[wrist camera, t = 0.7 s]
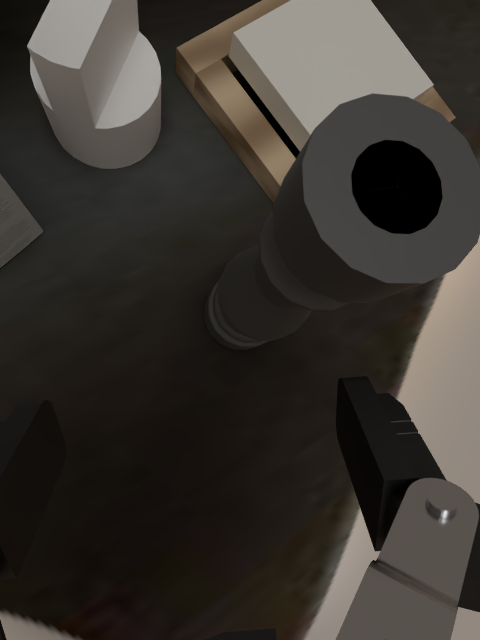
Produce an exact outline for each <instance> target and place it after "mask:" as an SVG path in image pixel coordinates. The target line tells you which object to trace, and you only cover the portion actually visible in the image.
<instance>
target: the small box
mask: <svg viewBox="0 0 480 640" xmlns="http://www.w3.org/2000/svg"><path fill="white" fill-rule="evenodd" d="M42 233H43V229H42V228H41V227H40V225H39V224H38V223H37V221H36V220H35V219H34V217H33V216H32V215H31V214H30V212H29V211H28V210H27V208H26V207H25V206H24V204H23V203H22V202H21V200H20V199H19V198H18V196H17V195H16V194H15V192H14V191H13V190H12V189H11V187H10V186H9V185H8V183H7V182H6V181H5V179H4V178H3V177H2V175H1V174H0V268H1V267H2V266H4V265H5V264H6V263H7V262H8V261H10V260H11V259H12V258H13V257H14V256H16V255H17V254H18V253H19V252H20V251H22V250H23V249H24V248H25V247H26V246H28V245H29V244H30V243H31V242H32V241H33V240H35V239H36V238H37V237H38V236H39V235H40V234H42Z"/></svg>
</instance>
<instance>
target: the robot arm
mask: <svg viewBox="0 0 480 640" xmlns="http://www.w3.org/2000/svg"><path fill="white" fill-rule="evenodd" d="M336 430H337V437H338V441H339V445H340V448H341V451H342V454H343V457H344V460H345V463H346V466H347V469H348V472H349V475H350V478H351V481H352V484H353V487H354V490H355V493H356V496H357V499H358V502H359V505H360V508H361V511H362V514H363V517H364V520H365V523H366V526H367V529H368V532H369V535H370V538H371V541H372V544H373V547H374V550H375V551H381V552H380V554H379V556H378V558H377V560H376V561H374V560H373V561H372V562H371V563H370V565H369V567H368V568H367V570H366V572H365V575H364V577H363V579H362V582H361V584H360V586H359V589H358V591H357V593H356V595H355V598H354V600H353V602H352V604H351V606H350V609H349V611H348V613H347V615H346V618H345V620H344V622H343V625H342V627H341V629H340V632H339V634H338V636H337V638H336V640H450V639H451V635H452V631H453V627H454V623H455V618H456V614H457V610H458V607H461V608H465V609H469V610H473V611H477V612H480V504H478V503H475V502H474V500H473V499H472V498H471V496H469V494H468V493H466V491H464V490H463V489H462V488H460V487H459V486H457V485H455V484H453V483H451V482H449V481H447V480H446V479H445V477H444V475H443V474H442V472H441V470H440V468H439V467H438V465H437V463H436V462H435V460H434V458H433V456H432V454H431V453H430V451H429V449H428V447H427V446H426V444H425V442H424V440H423V439H422V437H421V435H420V434H418V430H417V429H416V427H415V425H414V423H413V422H411V418H410V416H409V414H408V413H407V411H406V409H405V407H404V406H403V405H402V404H401V403H400V402H399V401H398V400H396V399H395V398H394V397H393V396H391V395H390V394H389V393H384V394H376V392H375V390H374V388H373V386H372V384H371V382H370V380H369V379H368V377H366V376H363V377H350V378H340V379H339V381H338V391H337V410H336ZM65 455H66V446H65V441H64V438H63V435H62V432H61V429H60V426H59V423H58V420H57V417H56V414H55V411H54V409H53V406H52V404H51V402H50V401H48V400H42V401H29V402H19V403H18V404H16V406H15V407H14V409H13V410H12V412H11V413H10V415H9V417H8V418H7V420H6V421H5V422H0V579H11V578H17V576H18V573H19V571H20V568H21V566H22V563H23V561H24V559H25V556H26V554H27V551H28V549H29V547H30V544H31V542H32V539H33V537H34V535H35V532H36V530H37V527H38V525H39V522H40V520H41V518H42V515H43V513H44V510H45V508H46V506H47V503H48V501H49V498H50V496H51V494H52V491H53V489H54V486H55V484H56V481H57V479H58V477H59V474H60V472H61V469H62V467H63V464H64V461H65ZM0 640H6V637H5V634H4V630H3V627H2V624H1V621H0ZM206 640H276V631H275V629H264V630H251V631H239V632H226V633H221V634H219V635H216V636H214V637H211V638H208V639H206Z"/></svg>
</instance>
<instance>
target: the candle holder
mask: <svg viewBox="0 0 480 640" xmlns="http://www.w3.org/2000/svg"><path fill="white" fill-rule="evenodd" d="M479 235H480V166H479V164H478V162H477V160H476V158H475V156H474V154H473V152H472V150H471V148H470V146H469V143H468V141H467V140H466V138H465V137H464V136H463V135H462V134H461V133H460V132H459V131H458V130H457V129H456V128H455V127H454V126H453V125H452V124H451V123H450V122H449V121H448V120H447V119H446V118H445V117H444V116H443V115H442V114H441V113H440V112H438V111H436V110H434V109H432V108H430V107H428V106H426V105H424V104H421V103H419V102H417V101H415V100H413V99H411V98H409V97H406V96H395V95H385V94H374V93H372V94H369V95H366V96H363V97H360V98H357V99H354V100H351V101H348V102H345V103H342V104H340V105H338V106H337V107H336V108H335V109H334V110H333V111H332V112H331V113H330V114H329V115H328V116H327V117H326V118H325V119H324V120H323V121H322V122H321V123H320V124H319V125H318V126H317V127H316V128H315V129H314V130H313V132H312V134H311V135H310V137H309V139H308V140H307V142H306V143H305V145H304V147H303V148H302V150H301V151H300V153H299V155H298V156H297V158H296V160H295V161H294V163H293V164H292V166H291V168H290V169H289V171H288V172H287V174H286V176H285V177H284V179H283V182H282V184H281V187H280V190H279V192H278V195H277V197H276V200H275V203H274V205H273V210H272V211H271V212H270V213H269V214H268V215H267V218H266V220H265V223H264V225H263V228H262V231H261V233H260V236H259V244H258V245H255V246H252V247H250V248H247V249H245V250H242V251H240V252H238V253H237V254H236V255H235V256H234V257H233V258H232V259H231V260H230V261H229V262H228V263H227V264H226V266H225V268H224V271H223V273H222V276H221V278H220V280H219V281H218V282H217V283H216V284H215V285H214V286H213V288H212V289H211V291H210V293H209V295H208V297H207V300H206V302H205V305H204V322H205V325H206V327H207V329H208V331H209V334H210V335H211V336H212V337H213V338H214V339H215V340H216V341H217V342H218V343H219V344H220V345H222V346H225V347H227V348H230V349H233V350H249V349H252V348H255V347H257V346H260V345H262V344H264V343H266V342H269V341H270V340H278V339H280V338H282V337H285V336H287V335H289V334H291V333H294V332H295V331H296V330H297V329H298V328H299V327H300V326H301V325H302V324H303V323H304V322H305V320H306V319H307V318H308V316H309V314H310V313H311V311H312V310H335V309H337V308H339V307H341V306H344V305H346V304H348V303H371V302H374V301H376V300H379V299H382V298H385V297H387V296H390V295H393V294H396V293H399V292H401V291H404V290H407V289H410V288H413V287H415V286H418V285H421V284H424V283H426V282H428V281H430V280H433V279H435V278H437V277H439V276H441V275H443V274H446V273H448V272H450V271H452V270H454V269H456V267H458V265H459V264H460V263H461V262H462V261H463V259H464V258H465V257H466V256H467V255H468V253H469V252H470V251H471V250H472V248H473V247H474V246H475V245H476V244H477V242H478V238H479Z"/></svg>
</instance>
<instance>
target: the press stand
mask: <svg viewBox="0 0 480 640" xmlns="http://www.w3.org/2000/svg"><path fill="white" fill-rule="evenodd" d="M289 1H290V0H262V1H260V2H259V3H257V4H255V5H253V6H251V7H250V8H248V9H246V10H244V11H242V12H241V13H239V14H237V15H235V16H233V17H231V18H230V19H228V20H226V21H224V22H222V23H221V24H219V25H217V26H215V27H213V28H212V29H210V30H208V31H206V32H204V33H203V34H201V35H199V36H197V37H195V38H193V39H192V40H190V41H188V42H186V43H184V44H183V45H181V46H179V47H177V51H176V72H175V73H176V74H177V76H178V77H179V78H180V80H181V81H182V82H183V84H184V85H185V86H186V88H187V89H188V90H189V92H190V93H191V94H192V96H193V97H194V98H195V100H196V101H197V102H198V104H199V105H200V106H201V108H202V109H203V110H204V112H205V113H206V114H207V116H208V117H209V118H210V120H211V121H212V122H213V124H214V125H215V126H216V128H217V129H218V130H219V132H220V133H221V134H222V136H223V137H224V138H225V140H226V141H227V142H228V144H229V145H230V146H231V148H232V149H233V150H234V152H235V153H236V154H237V156H238V157H239V158H240V160H241V161H242V162H243V164H244V165H245V166H246V168H247V169H248V170H249V172H250V173H251V174H252V176H253V177H254V178H255V180H256V181H257V182H258V184H259V185H260V186H261V188H262V189H263V190H264V192H265V193H266V194H267V196H268V197H269V198H270V199H271V201H272V202H273V203H275V200H276V197H277V195H278V192H279V190H280V187H281V184H282V182H283V179H284V177H285V176H286V174H287V172H288V171H289V169H290V168H291V166H292V164H293V163H294V161H295V160H296V158H295V157H294V156H293V154H292V153H291V152H290V150H289V149H288V148H287V146H286V145H285V144H284V142H283V141H282V140H281V138H280V137H279V136H278V134H277V133H276V132H275V130H274V129H273V128H272V126H271V125H270V124H269V122H268V121H267V120H266V118H265V117H264V116H263V114H262V113H261V112H260V110H259V109H258V108H257V106H256V105H255V104H254V102H253V101H252V100H251V98H250V97H249V96H248V94H247V93H246V92H245V90H244V89H243V88H242V86H241V85H240V84H239V82H238V81H237V80H236V78H235V77H234V76H233V74H232V73H234V72H235V71H237V70H238V68H237V67H236V66H235V64H234V63H233V62H232V60H231V59H230V58H229V51H230V46H231V41H232V37H233V32H235V31H237V30H239V29H241V28H242V27H244V26H246V25H248V24H249V23H251V22H253V21H255V20H257V19H258V18H260V17H262V16H264V15H265V14H267V13H269V12H271V11H273V10H274V9H276V8H278V7H280V6H281V5H283V4H285V3H287V2H289ZM418 102H419V103H421V104H424V105H426V106H428V107H430V108H432V109H434V110H436V111H438V112H440V113H441V114H442V115H443V116H444V117H445V118H446V119H447V120H448V121H449V122H451V121H452V120H453V119H454V118H456V117H455V116H454V115H453V113H452V112H451V111H450V109H449V108H448V107H447V105H446V104H445V103H444V101H443V100H442V99H441V97H440V96H439V95H438V93H437V92H436V91H435V89H434V88H433V87H431V88H430V89H429V90H428V92H427V93H426V94H425V95H424V96H423V97H422V98H421V99H420V100H419V101H418Z"/></svg>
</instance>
